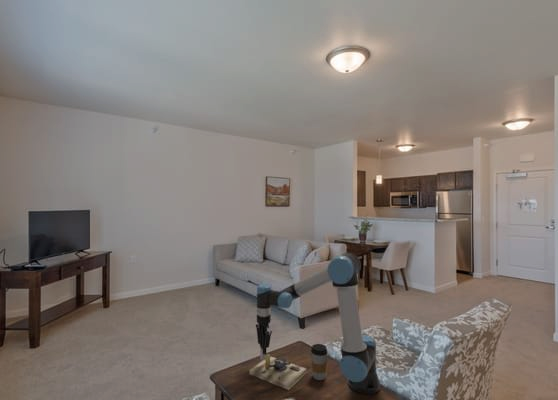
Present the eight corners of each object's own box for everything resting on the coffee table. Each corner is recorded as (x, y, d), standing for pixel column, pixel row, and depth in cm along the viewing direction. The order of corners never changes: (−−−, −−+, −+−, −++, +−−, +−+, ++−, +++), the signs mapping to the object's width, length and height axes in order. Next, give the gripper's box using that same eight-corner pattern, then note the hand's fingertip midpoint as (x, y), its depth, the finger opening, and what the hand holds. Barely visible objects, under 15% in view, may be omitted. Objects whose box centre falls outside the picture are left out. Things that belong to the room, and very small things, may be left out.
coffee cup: (326, 382, 145) (327, 351, 145) (310, 380, 147) (310, 350, 147) (327, 373, 153) (327, 344, 154) (311, 371, 155) (311, 342, 155)
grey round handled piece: (288, 361, 160) (288, 348, 161) (293, 369, 152) (293, 356, 152) (263, 364, 157) (263, 351, 157) (267, 373, 148) (267, 359, 148)
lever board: (306, 372, 154) (306, 365, 154) (289, 390, 139) (289, 382, 139) (269, 359, 167) (269, 353, 167) (249, 374, 152) (249, 367, 152)
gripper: (251, 312, 161) (251, 356, 160) (264, 319, 150) (263, 366, 149) (263, 309, 165) (262, 352, 164) (276, 316, 154) (275, 362, 153)
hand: (263, 359), depth 157 cm, fingers closed
